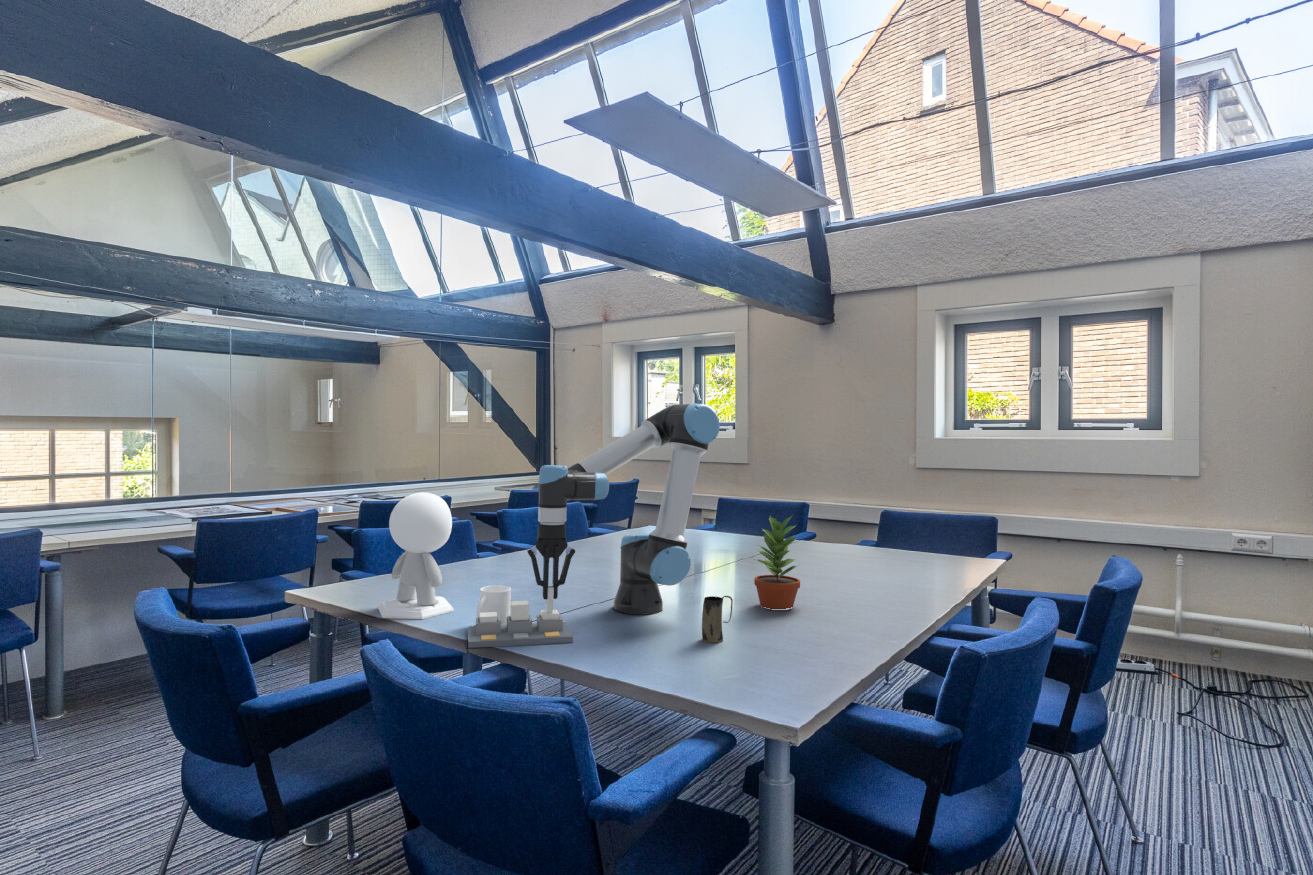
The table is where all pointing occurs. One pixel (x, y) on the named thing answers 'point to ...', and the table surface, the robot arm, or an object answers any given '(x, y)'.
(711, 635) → the mug
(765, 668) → the table surface
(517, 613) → the button
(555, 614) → the button
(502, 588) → the mug
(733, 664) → the table surface
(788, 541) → the potted plant
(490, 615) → the button
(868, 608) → the table surface
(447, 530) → the white toy figurine
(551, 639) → the board
